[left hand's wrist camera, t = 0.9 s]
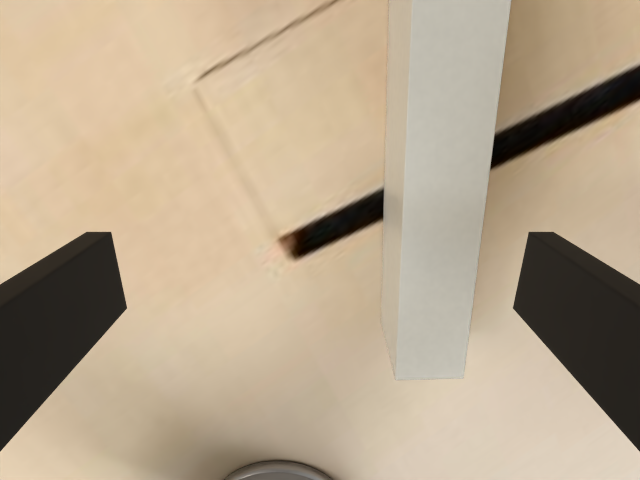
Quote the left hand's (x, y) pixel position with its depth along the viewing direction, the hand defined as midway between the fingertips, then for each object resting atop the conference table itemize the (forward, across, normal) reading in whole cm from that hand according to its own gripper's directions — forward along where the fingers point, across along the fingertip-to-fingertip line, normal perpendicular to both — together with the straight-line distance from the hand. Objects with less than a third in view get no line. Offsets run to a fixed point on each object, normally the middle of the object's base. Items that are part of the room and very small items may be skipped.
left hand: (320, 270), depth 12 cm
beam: (+19, -7, -14) cm, 25 cm away
